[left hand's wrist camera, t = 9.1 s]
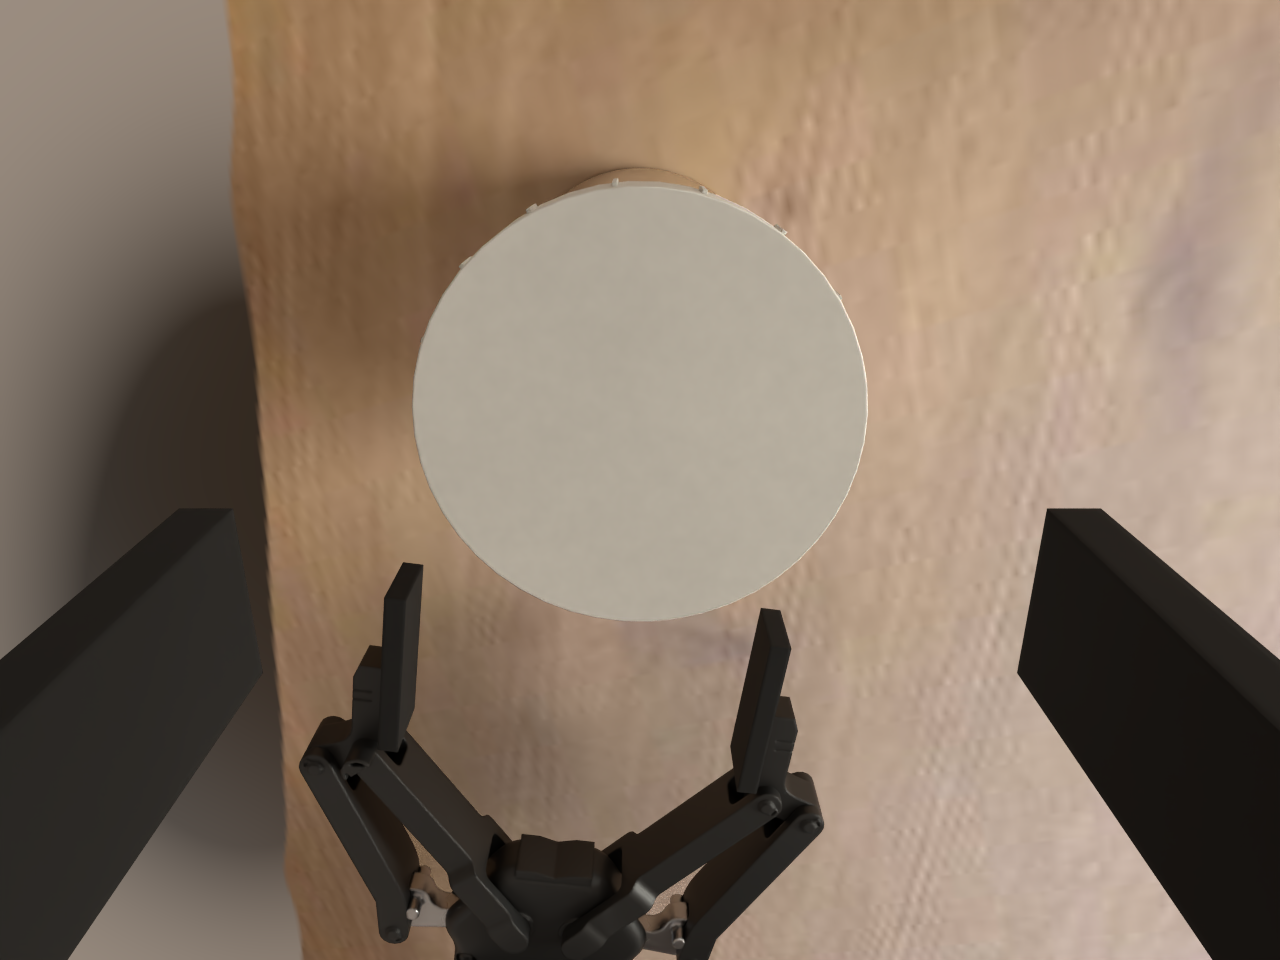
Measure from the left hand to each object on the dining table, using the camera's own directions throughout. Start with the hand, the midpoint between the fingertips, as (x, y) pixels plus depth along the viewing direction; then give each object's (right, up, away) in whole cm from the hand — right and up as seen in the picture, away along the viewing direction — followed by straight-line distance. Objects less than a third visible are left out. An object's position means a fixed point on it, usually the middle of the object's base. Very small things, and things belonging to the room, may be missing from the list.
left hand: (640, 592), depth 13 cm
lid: (0, +3, +8) cm, 8 cm away
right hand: (-2, -3, +20) cm, 20 cm away
